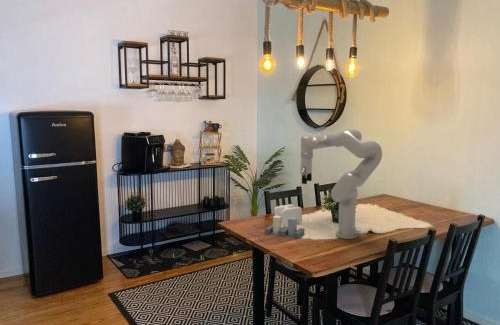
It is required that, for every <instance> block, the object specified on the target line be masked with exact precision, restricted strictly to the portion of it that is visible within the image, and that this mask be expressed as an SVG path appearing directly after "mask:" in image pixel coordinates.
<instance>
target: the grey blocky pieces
mask: <svg viewBox="0 0 500 325" xmlns="http://www.w3.org/2000/svg"><path fill="white" fill-rule="evenodd" d="M263 235H270V236H275V237H283V238H288V239H289V238H291V239H295V240H296V239H297V240H301V239H302V238H303V237H304V236H305V235H306V233H305V228H304V227H303V228H300V227H299V228H297V231H296V232H295V233H294V236H289V235H288V225H286V226H284V225H282V228H281V229H280V230H278V234H275V233H273V223H272V224H270V225H268V226H267V227H265V229H264V233H263Z"/></svg>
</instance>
